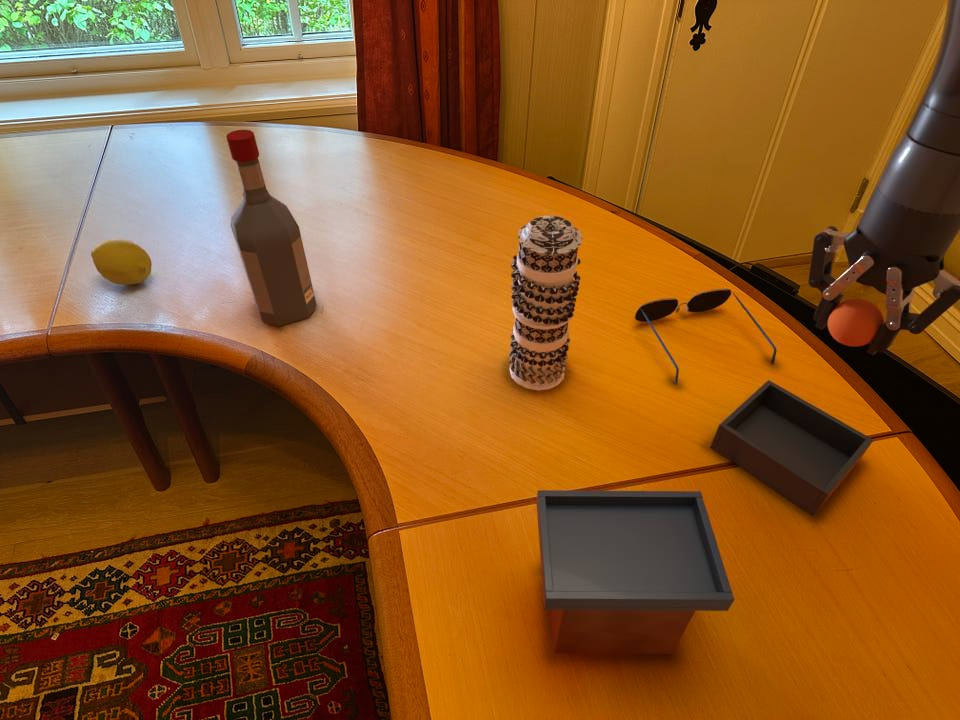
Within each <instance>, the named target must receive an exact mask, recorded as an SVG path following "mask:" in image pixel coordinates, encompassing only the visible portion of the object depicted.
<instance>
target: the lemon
mask: <svg viewBox="0 0 960 720" xmlns="http://www.w3.org/2000/svg"><path fill="white" fill-rule="evenodd" d="M90 256H91V258H92V261H93V264H94V266H95V268H96V271H97V272H98V273H99V274H100V275H101V276H102V277H103V278H104V279H105V280H107V281H109V282H110V283H114V284H117V285H121V286H133V285H136V284H140V283H141V284H142V283H143V282H145V281H146V280H147V279H148V278H149V276H150V275H151V273H152V265H153V264H152V259H151V256H150V255H149V253H148V252H147V251H146V249H145V248H143V246H141V245H139V244H138V243H136V242H135V241H132V240H128V239H125V238H111V239H107V240H104V241H102V242H101V243H99V244H98V245H96V246H95V247H94V248H93V249H91V252H90Z"/></svg>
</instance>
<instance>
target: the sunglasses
mask: <svg viewBox="0 0 960 720" xmlns="http://www.w3.org/2000/svg"><path fill="white" fill-rule="evenodd" d="M732 294H733V296H734V297H735V299H736V300H737V302H738V303H739V304H740V306H741V307H742V308H743V310H744V311H745V312H746V314H747V315H748V317H749V318H750V319H751V321H752V322H753V323H754V324H755V326H756V327H757V328H758V330H759V331H760V332H761V334H762V335H763V337H765V340H766V341H767V342H768V343H769V344H770V346H771V347H772V348H773V353H772V357H771V360H770V363H771V364H772V365H775V360H776V356H777V351H778V350H777V346H776V345H775V344H774V342H773V341H772V340H771V338H770V337H769V336H768V335H767V333H766V332H765V330H763V328H762V326H760V324H759V323H758V321H757V320H756V318H754V316H753V315H752V313H750V311H749V310H748V308H747V307H746V306H745V305H744V303H743V302H742V301H741V300H740V298H739V297H738V296H737V295H736V294H735V292H733V291H732V289H729V288H717V289H710V290H706V291H702V292H699V293H697V294H695V295H693V296H692V297H691V298H690V299H689V301H688V302H682V303H680V304H679V302H680V301H679V300H678V299H677V298H674V297H667V298H665V299H664V298H660V299H655V300H651V301H649V302H646V303H643V304H642V305H639V307H638V309H637V310H636V312H635V316H634V320H635V321H638V322H641V323H648V325H649V326H650V328H651V329H652V331H653V333H654V334H655V336H656V338H657V340H658V341H659V343H660V345H661V347H662V348H663V350H664V351H665V353H666V354H667V356H668V358H669V359H670V361H671V363H672V365H673V366H674V368H675V376H674V384H675V385H678V379H679V373H680V370H679V369H680V368H679V366H678V365H677V363H676V361H675V360H674V358H673V356H672V354H671V353H670V351H669V350H668V348H667V346H666V344H665V343H664V341H663V340H662V338H661V336H660V335H659V333H658V332H657V330H656V329H655V327H654V325H653V324H652V322H653V321H657V320H658V321H659V320H661V319H664V318H665V317H668V316H670V315H672V314H673V313H674V312H675V313H676V314H677V313H679V312H680V310H681V306H682V305H685V310H686V311H687V312H689V313H702V312H708V311H712V310H714V309H717V308H719V307H720V306H722V305H723V304H725V303H726V302H727V301H728V300H729V298H730V297H731V295H732Z"/></svg>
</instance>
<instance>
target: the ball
mask: <svg viewBox="0 0 960 720" xmlns="http://www.w3.org/2000/svg"><path fill="white" fill-rule="evenodd" d="M884 323H885V318H884V315H883V312H882V310H881V309H880V308H879V307H878V306H877V305H876V304H875V303H873V302H872V301H870V300H868V299H864V298H850V299H846V300H843V301H840V303H839V304H838V305H837V306H836V307H834V309H833V310H832V311H831V313H830V315H829V317H828V325H827V329H828V332H829V334H830V336H832V338H833V339H834V340H835V341H836V342H838V343H840V344H841V345H844V346H848V347H862V346H865V345H868V344H869V345H870V344H871V343H872V341H873V339H874V338H875V336H876V334H877V332H878V331H879V329H880V327H881V326H882V325H883V324H884Z"/></svg>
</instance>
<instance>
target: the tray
mask: <svg viewBox="0 0 960 720" xmlns="http://www.w3.org/2000/svg"><path fill="white" fill-rule="evenodd" d="M535 501H536V502H535V503H536V516H537V530H538V542H539V543H538V544H539V557H540V558H539V559H540V572H541V583H542V584H541V587H542V595H543V596H542V599H543V610H544V611H545V610H547V611H551V610H661V611H695V612H728V611H729V610H730V608H731V607H732V605H733V603H734V602H735V596H734V594H733V590H732V588H731V584H730V581H729V578H728V574H727V571H726V568H725V564H724V562H723V558H722V555H721V552H720V548H719V545H718V542H717V540H716V539H717V538H716V536H715V533H714V529H713V527H712V524H711V519H710V517H709V514H708V510H707V507H706V504H705V500H704V498H703V494H702V491H701V490H699V491H698V490H697V491H695V490H692V491H691V490H574V489H573V490H571V489H570V490H561V489H560V490H558V489H557V490H554V489H552V490H550V489H549V490H548V489H547V490H546V489H539V490H538V489H537V493H536V500H535Z"/></svg>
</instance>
